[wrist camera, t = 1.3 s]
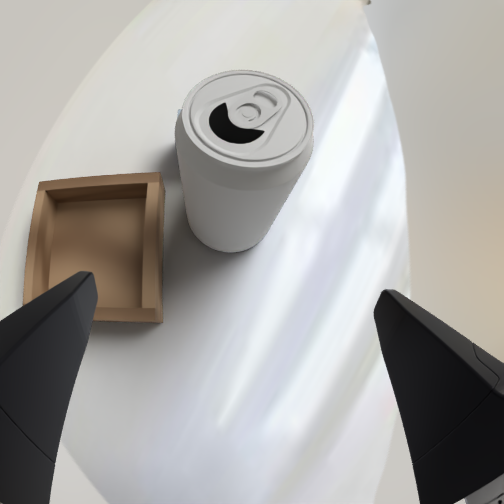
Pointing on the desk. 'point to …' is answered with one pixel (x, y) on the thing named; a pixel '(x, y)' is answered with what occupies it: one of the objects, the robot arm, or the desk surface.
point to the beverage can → (240, 155)
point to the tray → (101, 242)
